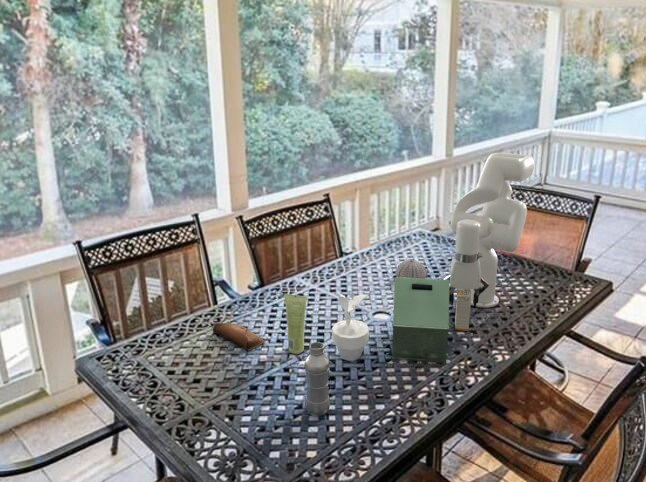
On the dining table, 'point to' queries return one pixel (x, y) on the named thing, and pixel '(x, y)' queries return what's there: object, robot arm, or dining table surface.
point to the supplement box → (462, 309)
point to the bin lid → (421, 302)
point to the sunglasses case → (238, 335)
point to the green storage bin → (420, 343)
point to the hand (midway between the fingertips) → (463, 303)
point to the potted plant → (350, 330)
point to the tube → (295, 322)
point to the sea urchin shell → (411, 270)
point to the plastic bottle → (317, 380)
